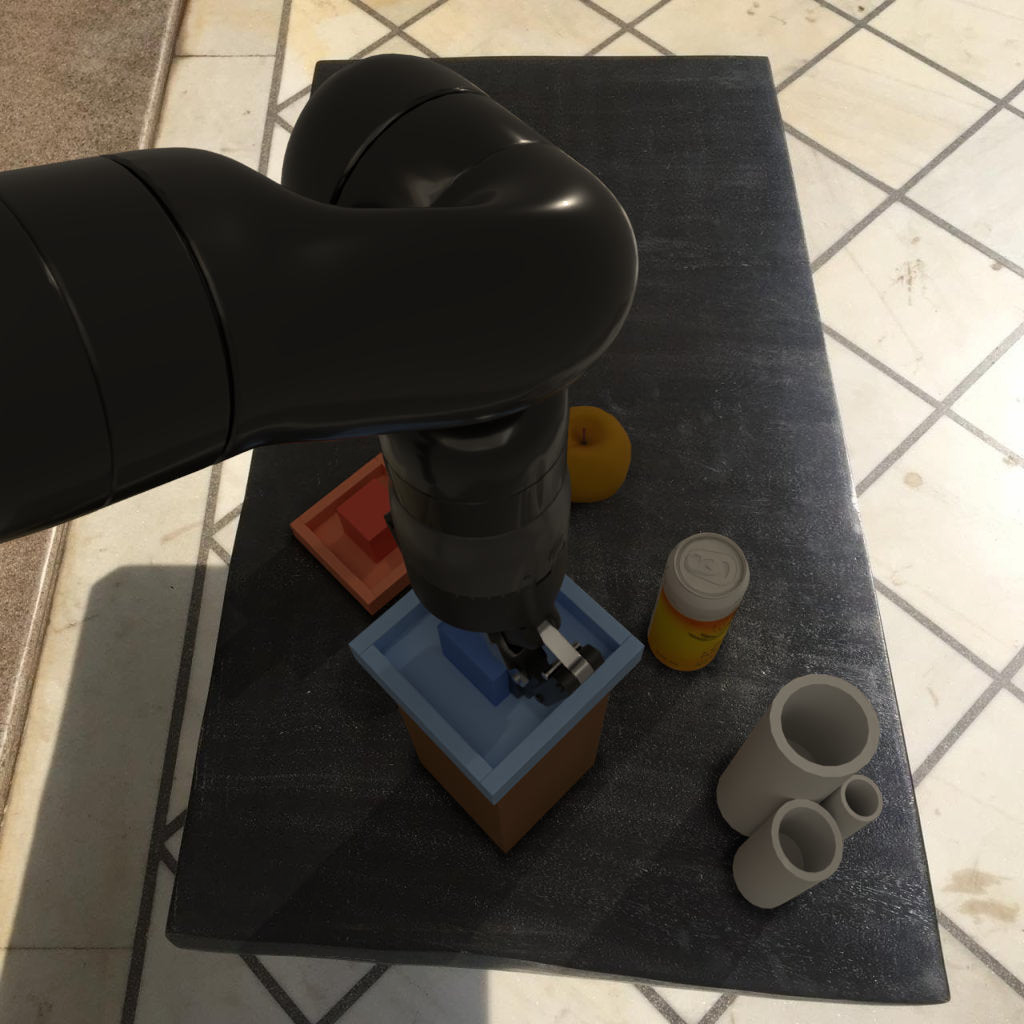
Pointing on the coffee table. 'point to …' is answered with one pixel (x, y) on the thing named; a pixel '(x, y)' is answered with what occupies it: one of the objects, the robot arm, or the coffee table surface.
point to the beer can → (697, 600)
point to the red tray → (351, 544)
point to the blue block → (474, 661)
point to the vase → (800, 787)
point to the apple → (596, 454)
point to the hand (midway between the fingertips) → (496, 654)
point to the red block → (368, 520)
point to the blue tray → (497, 713)
